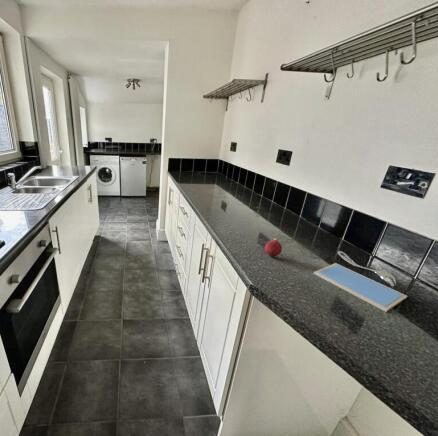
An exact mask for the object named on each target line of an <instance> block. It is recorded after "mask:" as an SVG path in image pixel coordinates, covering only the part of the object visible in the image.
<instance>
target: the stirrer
mask: <svg viewBox="0 0 438 436" xmlns="http://www.w3.org/2000/svg"><path fill="white" fill-rule="evenodd" d="M336 253H337V255H338V256H339V257H340V258H341V259H342V260H344V262H346V263H348V264H350V265H351V266H354V267H357V268H360V269H363V270H368V271H371V272H373V273H375V275H377V276H378V277H380V278H381V279H382V280H384V282H386V283H387V284H388V285H389V286H391V287H396V286H397V280H396V278H395V277H394V276H393V275H392V274H391V273H389V272H386V271H382V270H376V269H371V268H368V267H365V266H362V265H360V264H358V263H357V262H355V261H354V260H353V259H351V257H350V256H349V255H348V254H347V253H345V252H344V251H341V250H338V251H337V252H336Z"/></svg>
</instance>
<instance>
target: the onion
mask: <svg viewBox="0 0 438 436" xmlns="http://www.w3.org/2000/svg"><path fill="white" fill-rule="evenodd" d="M282 250H283V247H282V245H281V243H280V242H279V239H278V238H274V239H273V240H269V241H267V243H266V244H265V246H264V252H265V253H266V254H267V256H269V257H271V258H273V257H277V256H279V255H281V253H282Z"/></svg>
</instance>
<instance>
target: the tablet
mask: <svg viewBox="0 0 438 436" xmlns="http://www.w3.org/2000/svg"><path fill="white" fill-rule="evenodd" d="M313 275H315V276H317V277H318V278H321V279H322V280H325V281H327V282H328V283H330V284H332V285H334V286H336V287H338V288H339V289H342V290H343V291H345V292H347V293H349V294H351V295H353V296H355V297H357V298H358V299H360V300H362V301H364V302H366V303H368V304H370V305H372V306H374V307H376V308H378V309H379V310H381V311H383V312H385V313H388V312H389V311H391V310H392V309H393V308H394V307H396V306H398V305H400V304H401V303H402V302H404V301H405V300H407V299H408V295H407V294H404V293H402V292H400V291H397V290H395V289H393V288H391V287H389V286H387V285H384V284H382V283H381V282H378V281H377V280H376V281H375V280H373V279H372V278H369V277H367V276H365V275H363V274H361V273H358V272H356V271H355V270H352V269H350V268H347V267H345V266H343V265H341V264H339V263H337V262H335V263H332V264H330V265H327V266H325V267H323V268H319V269H318V270H315V271H313Z"/></svg>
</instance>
